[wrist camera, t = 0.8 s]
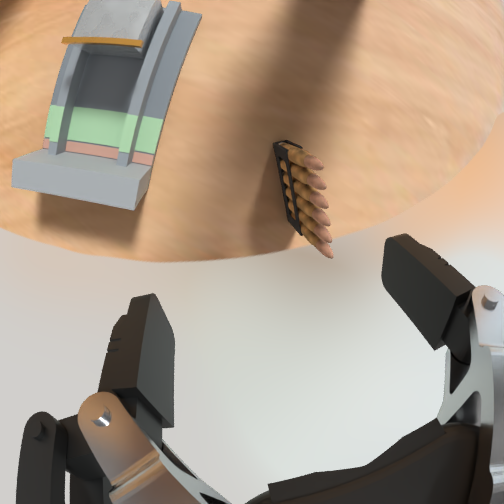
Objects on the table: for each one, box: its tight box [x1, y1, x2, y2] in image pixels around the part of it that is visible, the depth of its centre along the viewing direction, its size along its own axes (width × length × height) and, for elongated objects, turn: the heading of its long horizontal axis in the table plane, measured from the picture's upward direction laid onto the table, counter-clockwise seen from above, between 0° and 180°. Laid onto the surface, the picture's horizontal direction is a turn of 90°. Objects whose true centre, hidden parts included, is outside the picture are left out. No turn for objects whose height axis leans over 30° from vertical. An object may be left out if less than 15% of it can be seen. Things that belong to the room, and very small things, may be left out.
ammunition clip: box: [273, 140, 333, 258], centre depth 29 cm, size 11×2×12 cm, turn 13°
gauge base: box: [12, 1, 202, 210], centre depth 21 cm, size 22×15×8 cm
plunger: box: [61, 0, 164, 59], centre depth 17 cm, size 6×8×7 cm
